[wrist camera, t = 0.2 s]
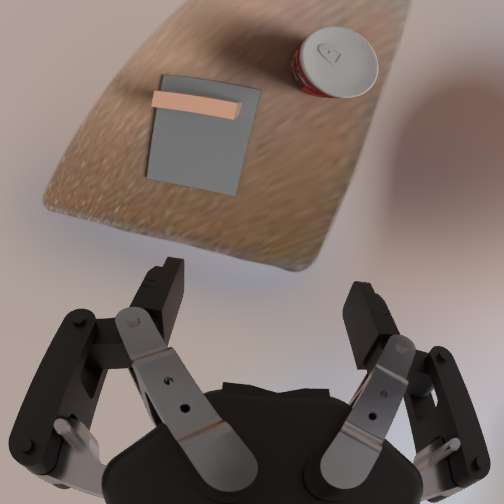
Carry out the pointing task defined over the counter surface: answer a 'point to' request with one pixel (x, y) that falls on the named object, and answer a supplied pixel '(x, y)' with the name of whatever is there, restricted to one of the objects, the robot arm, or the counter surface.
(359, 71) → the canned food
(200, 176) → the mat
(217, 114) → the block
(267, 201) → the counter surface
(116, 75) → the counter surface
